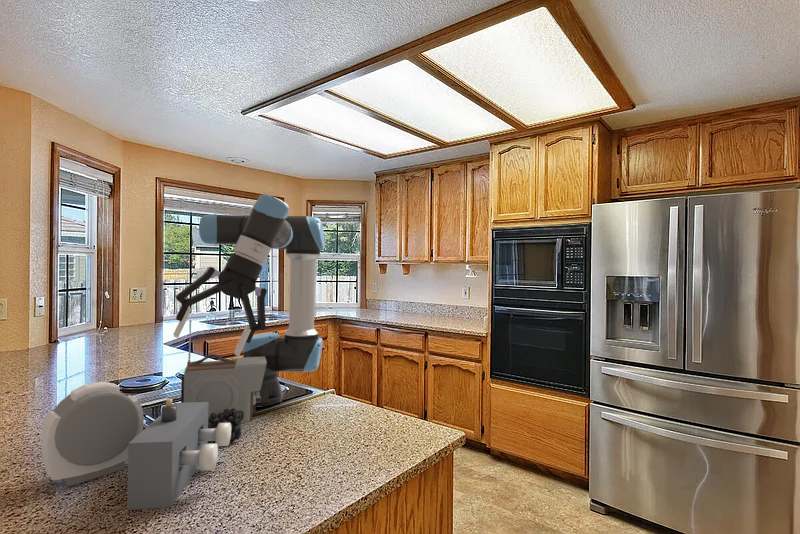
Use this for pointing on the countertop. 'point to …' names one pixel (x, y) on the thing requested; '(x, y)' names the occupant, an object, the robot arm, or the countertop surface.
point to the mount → (164, 457)
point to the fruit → (228, 421)
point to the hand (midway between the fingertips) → (206, 345)
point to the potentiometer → (168, 412)
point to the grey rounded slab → (90, 433)
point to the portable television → (224, 383)
